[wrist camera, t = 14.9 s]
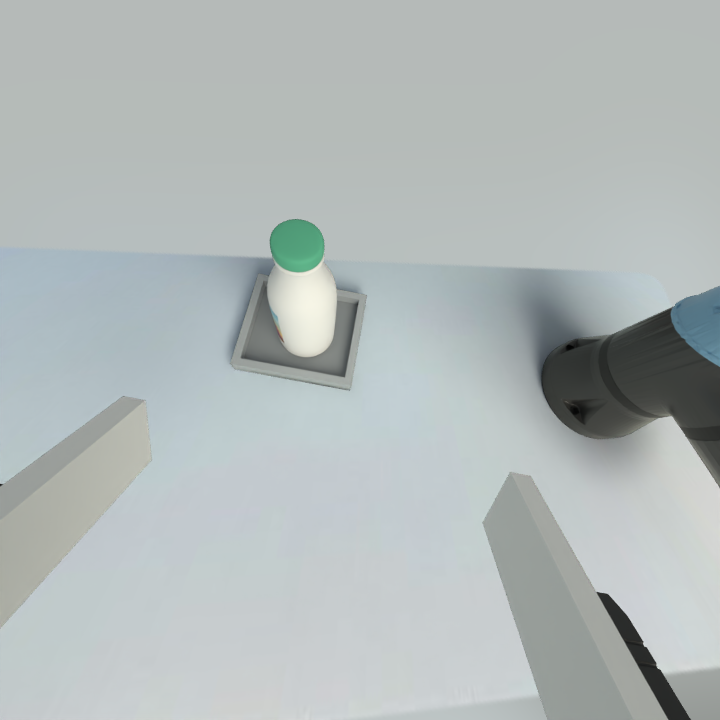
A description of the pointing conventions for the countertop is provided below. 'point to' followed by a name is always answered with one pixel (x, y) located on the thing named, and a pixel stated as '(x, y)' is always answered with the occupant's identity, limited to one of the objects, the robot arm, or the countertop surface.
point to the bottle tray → (271, 358)
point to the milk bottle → (301, 289)
